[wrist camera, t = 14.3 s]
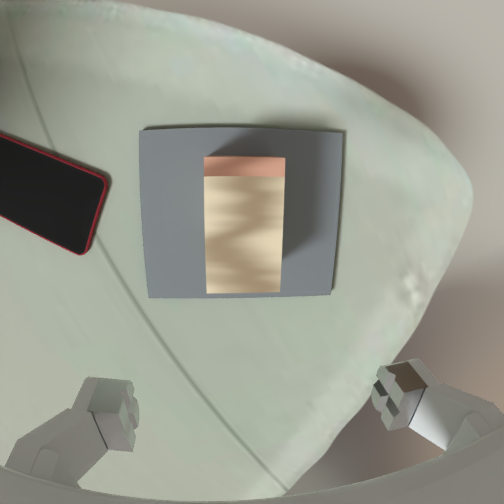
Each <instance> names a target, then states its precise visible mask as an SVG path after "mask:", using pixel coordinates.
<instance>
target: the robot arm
mask: <svg viewBox="0 0 504 504" xmlns="http://www.w3.org/2000/svg"><path fill="white" fill-rule="evenodd" d="M376 376H377V377H378V379H379V380H378V381H377V382H376V383H375V384H374V385H373V389H372V402H373V405H374V407H375V409H376V410H378V411H380V412H381V413H382V416H381V419H382V421H383V422H384V424H385V426H386V428H387V429H388V431H390V430H394V429H398V428H402V427H406V426H409V427H410V428H411V429H413V430H414V431H416V432H417V433H419V434H420V435H422V436H424V437H425V438H427V439H428V440H430V441H431V442H433V443H435V444H436V445H438V446H439V447H441V448H442V449H444V450H445V453H444V454H443V455H441V456H439V457H436V458H434V459H431V460H428V461H426V462H423V463H420V464H418V465H415V466H412V467H409V468H406V469H403V470H400V471H397V472H394V473H391V474H387V475H384V476H381V477H377V478H374V479H370V480H367V481H362V482H359V483H354V484H351V485H346V486H342V487H337V488H332V489H327V490H323V491H317V492H311V493H305V494H299V495H291V496H284V497H275V498H266V499H254V500H239V501H171V500H156V499H145V498H136V497H127V496H120V495H113V494H107V493H101V492H95V491H90V490H85V489H81V487H80V486H79V485H78V483H77V481H78V480H79V479H80V478H81V477H82V476H83V475H84V474H85V473H86V472H87V471H88V470H89V469H90V468H91V467H92V466H93V465H94V464H95V463H96V462H97V461H98V460H99V459H100V458H101V457H102V456H103V455H104V454H105V453H106V452H107V451H108V450H117V451H129V452H133V448H134V443H135V438H136V436H135V433H134V429H136V428H137V427H138V423H139V406H138V402H137V399H136V398H134V397H133V393H134V387H133V384H132V382H131V381H130V380H118V379H108V378H96V377H87V378H86V379H85V380H84V382H83V385H82V387H81V389H80V391H79V393H78V395H77V398H76V400H75V402H74V404H73V407H72V409H68V408H67V409H66V410H64V411H63V412H61V413H60V414H58V415H57V416H55V417H53V418H52V419H50V420H49V421H47V422H45V423H44V424H42V425H41V426H39V427H38V428H36V429H34V430H33V431H31V432H30V433H28V434H26V435H25V436H23V437H22V438H20V439H18V440H17V442H16V444H15V446H14V448H13V450H12V452H11V454H10V456H9V458H8V460H7V463H6V465H5V467H4V466H1V465H0V504H504V414H503V413H502V412H501V411H500V410H499V408H498V407H497V406H496V405H495V404H494V403H492V402H490V401H487V400H484V399H482V398H480V397H477V396H475V395H472V394H469V393H467V392H464V391H462V390H460V389H457V388H454V387H452V386H450V385H447V384H445V383H442V384H440V383H439V382H438V380H437V379H436V378H435V377H434V376H433V375H432V373H431V372H430V371H429V370H428V369H427V368H426V366H425V365H424V364H423V363H422V362H421V361H420V360H419V359H413V360H408V361H405V362H400V363H394V364H389V365H384V366H380V368H379V369H378V371H377V375H376Z"/></svg>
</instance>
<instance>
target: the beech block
mask: <svg viewBox="0 0 504 504" xmlns="http://www.w3.org/2000/svg"><path fill="white" fill-rule="evenodd" d="M284 186H285V158H282V157H275V156H206V157H204V224H205V261H206V288H207V293H264V292H280V281H281V261H282V239H283V215H284Z"/></svg>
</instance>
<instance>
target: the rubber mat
mask: <svg viewBox="0 0 504 504" xmlns="http://www.w3.org/2000/svg"><path fill="white" fill-rule="evenodd" d="M342 140H343V133H334V132H323V131H310V130H295V129H275V128H235V127H217V128H177V129H157V130H142V131H139V169H140V199H141V218H142V233H143V246H144V258H145V268H146V278H147V287H148V296H149V298H256V297H292V296H318V295H331V287H332V278H333V269H334V260H335V250H336V239H337V227H338V215H339V201H340V185H341V166H342ZM206 156H275V157H282V158H285V186H284V215H283V239H282V261H281V281H280V292H264V293H207V288H206V261H205V224H204V157H206Z"/></svg>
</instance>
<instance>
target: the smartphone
mask: <svg viewBox="0 0 504 504" xmlns="http://www.w3.org/2000/svg"><path fill="white" fill-rule="evenodd" d="M107 186H108V184H107V180H106V179H105V177H104V176H102V175H100V174H98V173H95V172H93V171H90V170H88V169H86V168H83V167H81V166H78V165H76V164H74V163H71V162H69V161H66V160H64V159H61V158H59V157H57V156H54V155H52V154H49V153H47V152H44V151H42V150H39V149H37V148H34V147H32V146H30V145H27V144H25V143H22V142H20V141H17V140H15V139H12V138H10V137H7V136H5V135H2V134H0V216H1V217H3V218H5V219H7V220H9V221H11V222H13V223H15V224H16V225H18V226H20V227H22V228H24V229H26V230H28V231H30V232H32V233H34V234H36V235H38V236H40V237H42V238H44V239H46V240H48V241H50V242H52V243H54V244H56V245H58V246H60V247H62V248H64V249H66V250H68V251H70V252H72V253H74V254H77V255H84V254H85V253H86V252H87V251H88V249H89V246H90V242H91V238H92V235H93V231H94V228H95V225H96V221H97V218H98V215H99V212H100V209H101V206H102V203H103V200H104V197H105V194H106V191H107Z"/></svg>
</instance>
